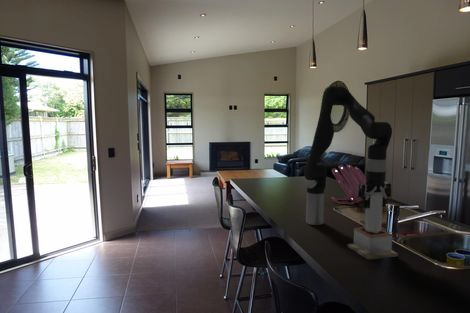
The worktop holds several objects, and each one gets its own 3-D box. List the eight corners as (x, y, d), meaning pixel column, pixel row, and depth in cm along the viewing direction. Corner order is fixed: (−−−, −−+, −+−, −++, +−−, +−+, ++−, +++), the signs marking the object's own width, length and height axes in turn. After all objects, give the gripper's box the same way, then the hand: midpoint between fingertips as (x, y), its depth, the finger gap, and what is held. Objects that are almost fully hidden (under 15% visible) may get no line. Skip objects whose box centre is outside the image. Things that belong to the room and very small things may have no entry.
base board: (347, 246, 139) (347, 243, 139) (374, 243, 142) (374, 241, 142) (368, 259, 125) (368, 256, 125) (397, 256, 129) (397, 253, 129)
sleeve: (353, 245, 138) (354, 227, 137) (374, 242, 140) (374, 226, 139) (369, 254, 127) (370, 236, 127) (391, 252, 130) (392, 234, 129)
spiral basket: (317, 176, 209) (353, 154, 205) (318, 179, 236) (350, 160, 231) (341, 212, 201) (379, 190, 197) (340, 211, 228) (373, 192, 223)
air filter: (366, 244, 138) (368, 189, 136) (381, 248, 134) (384, 191, 132) (361, 248, 133) (364, 191, 131) (377, 252, 129) (380, 193, 127)
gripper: (384, 168, 135) (382, 204, 137) (355, 168, 132) (353, 206, 134) (397, 170, 128) (394, 209, 130) (367, 171, 125) (365, 211, 127)
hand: (373, 207), depth 132 cm, fingers open, 8 cm apart
